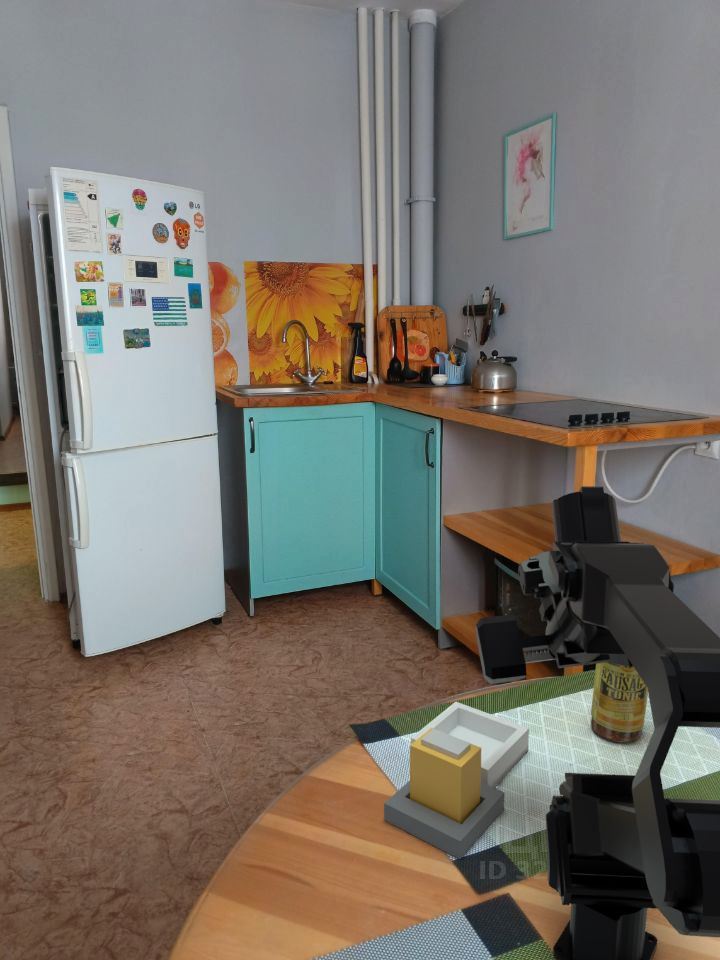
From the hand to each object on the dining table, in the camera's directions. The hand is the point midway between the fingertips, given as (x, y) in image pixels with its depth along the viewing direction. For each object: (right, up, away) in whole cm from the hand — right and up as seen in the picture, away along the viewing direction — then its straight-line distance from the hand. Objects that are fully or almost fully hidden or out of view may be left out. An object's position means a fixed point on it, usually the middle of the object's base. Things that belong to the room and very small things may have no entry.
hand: (559, 660), depth 78 cm
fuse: (-13, -15, -4) cm, 20 cm away
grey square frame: (-13, -15, -4) cm, 20 cm away
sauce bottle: (+10, -12, +10) cm, 18 cm away
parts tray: (-9, -13, +6) cm, 16 cm away
